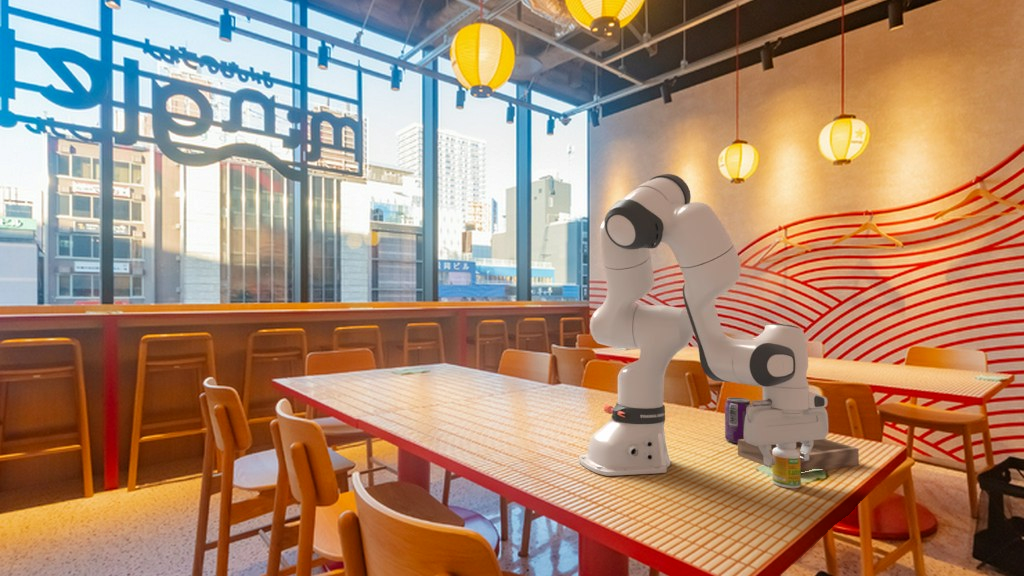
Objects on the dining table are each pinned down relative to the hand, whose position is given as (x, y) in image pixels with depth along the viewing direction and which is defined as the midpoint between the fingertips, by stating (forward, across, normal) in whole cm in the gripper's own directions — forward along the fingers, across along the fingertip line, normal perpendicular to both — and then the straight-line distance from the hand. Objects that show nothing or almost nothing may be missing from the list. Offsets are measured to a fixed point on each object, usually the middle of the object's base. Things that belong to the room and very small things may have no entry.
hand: (786, 462), depth 107 cm
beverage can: (+5, +16, +31) cm, 35 cm away
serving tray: (+5, +17, +13) cm, 22 cm away
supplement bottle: (+5, +1, +1) cm, 5 cm away
